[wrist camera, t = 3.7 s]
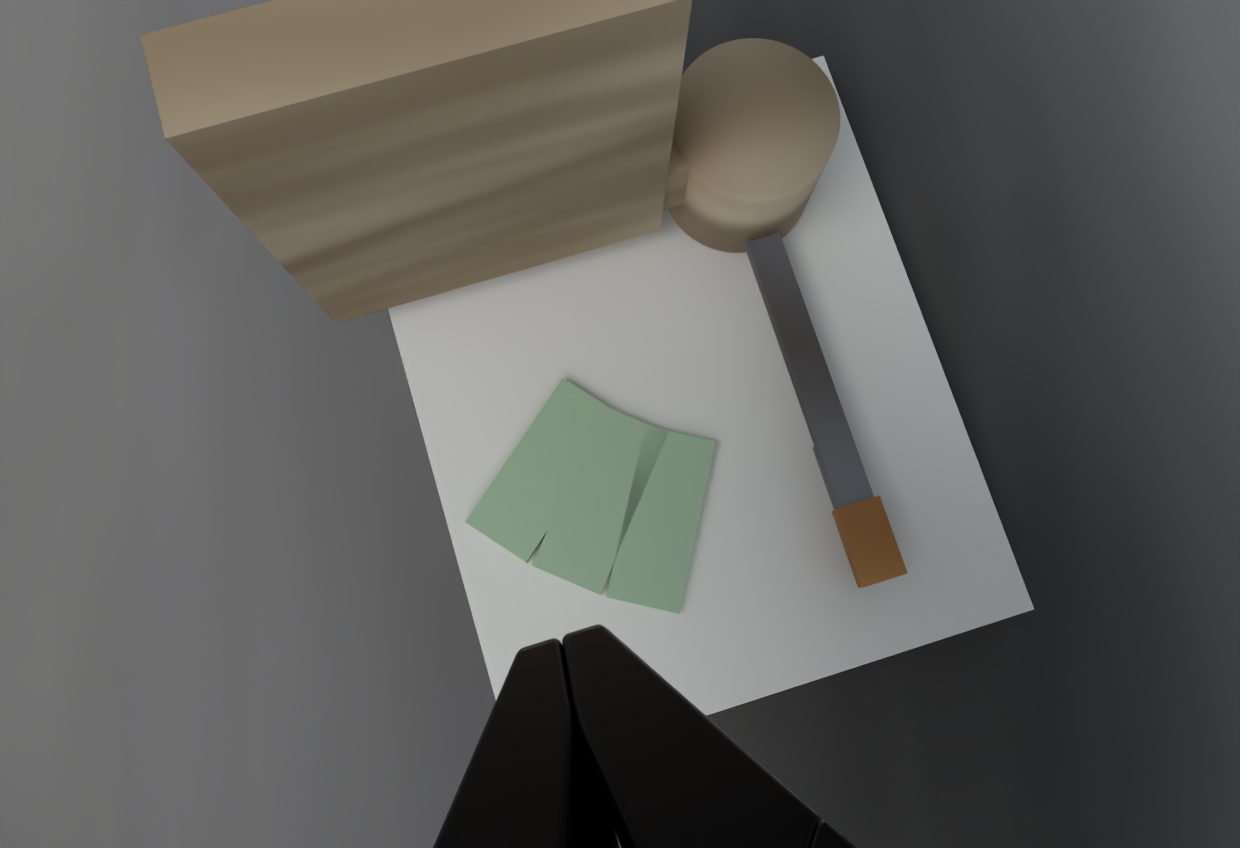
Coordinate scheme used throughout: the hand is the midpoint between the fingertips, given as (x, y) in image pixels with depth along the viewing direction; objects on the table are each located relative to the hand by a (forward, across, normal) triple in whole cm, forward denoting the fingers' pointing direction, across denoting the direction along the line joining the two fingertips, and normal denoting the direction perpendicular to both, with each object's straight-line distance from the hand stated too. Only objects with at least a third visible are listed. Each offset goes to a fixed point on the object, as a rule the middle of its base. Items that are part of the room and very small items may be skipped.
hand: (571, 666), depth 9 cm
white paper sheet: (+12, +3, -5) cm, 13 cm away
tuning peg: (+11, +2, -4) cm, 12 cm away
